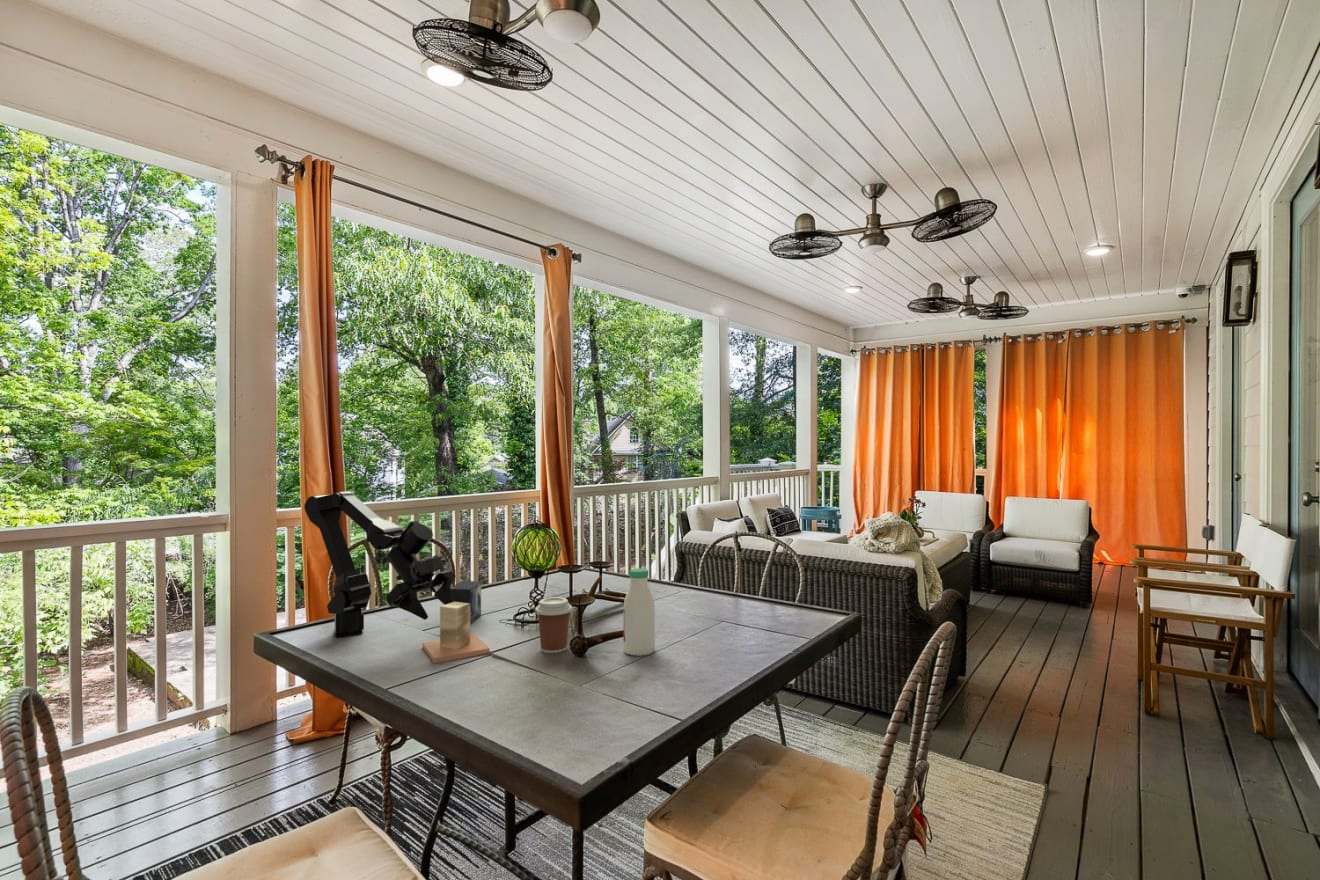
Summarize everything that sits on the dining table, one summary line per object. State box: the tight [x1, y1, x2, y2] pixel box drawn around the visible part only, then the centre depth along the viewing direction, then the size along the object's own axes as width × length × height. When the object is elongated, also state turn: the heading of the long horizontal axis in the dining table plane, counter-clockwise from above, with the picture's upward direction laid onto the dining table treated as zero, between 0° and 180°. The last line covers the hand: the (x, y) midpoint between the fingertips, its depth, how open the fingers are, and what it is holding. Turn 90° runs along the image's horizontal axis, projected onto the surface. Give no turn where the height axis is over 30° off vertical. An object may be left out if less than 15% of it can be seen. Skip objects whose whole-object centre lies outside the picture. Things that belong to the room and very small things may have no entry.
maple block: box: [439, 602, 471, 650], centre depth 152 cm, size 5×5×10 cm
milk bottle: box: [622, 567, 656, 657], centre depth 151 cm, size 8×8×20 cm
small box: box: [450, 580, 482, 625], centre depth 178 cm, size 11×6×10 cm, turn 179°
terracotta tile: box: [421, 634, 490, 664], centre depth 152 cm, size 13×13×1 cm
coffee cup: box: [534, 596, 573, 654], centre depth 153 cm, size 9×9×12 cm
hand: (440, 613), depth 154 cm, fingers open, 9 cm apart
